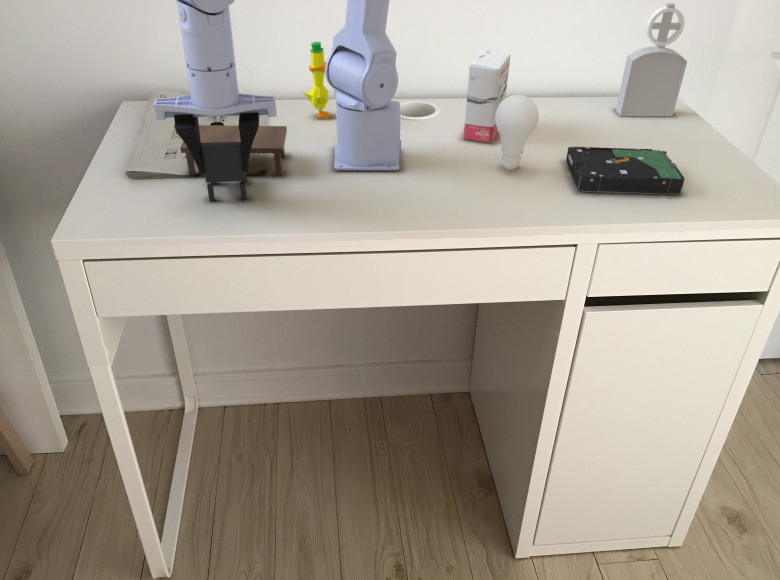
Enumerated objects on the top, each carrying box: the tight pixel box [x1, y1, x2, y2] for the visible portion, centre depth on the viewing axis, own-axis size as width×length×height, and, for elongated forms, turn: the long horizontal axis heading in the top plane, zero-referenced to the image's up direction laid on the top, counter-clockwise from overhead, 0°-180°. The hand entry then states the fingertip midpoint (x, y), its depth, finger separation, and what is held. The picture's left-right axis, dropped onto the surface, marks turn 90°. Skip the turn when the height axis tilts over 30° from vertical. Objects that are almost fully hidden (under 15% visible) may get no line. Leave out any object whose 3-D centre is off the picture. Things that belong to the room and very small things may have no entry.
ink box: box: [463, 49, 511, 144], centre depth 114 cm, size 9×5×12 cm, turn 161°
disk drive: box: [565, 146, 686, 195], centre depth 105 cm, size 10×3×15 cm
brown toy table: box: [179, 124, 288, 177], centre depth 104 cm, size 14×8×4 cm, turn 93°
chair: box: [201, 142, 248, 202], centre depth 96 cm, size 5×6×8 cm
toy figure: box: [303, 41, 331, 120], centre depth 117 cm, size 7×4×12 cm, turn 105°
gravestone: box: [615, 2, 688, 117], centre depth 121 cm, size 3×9×18 cm, turn 94°
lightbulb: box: [495, 94, 539, 171], centre depth 104 cm, size 6×6×11 cm
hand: (224, 169), depth 94 cm, fingers closed on chair, 5 cm apart
